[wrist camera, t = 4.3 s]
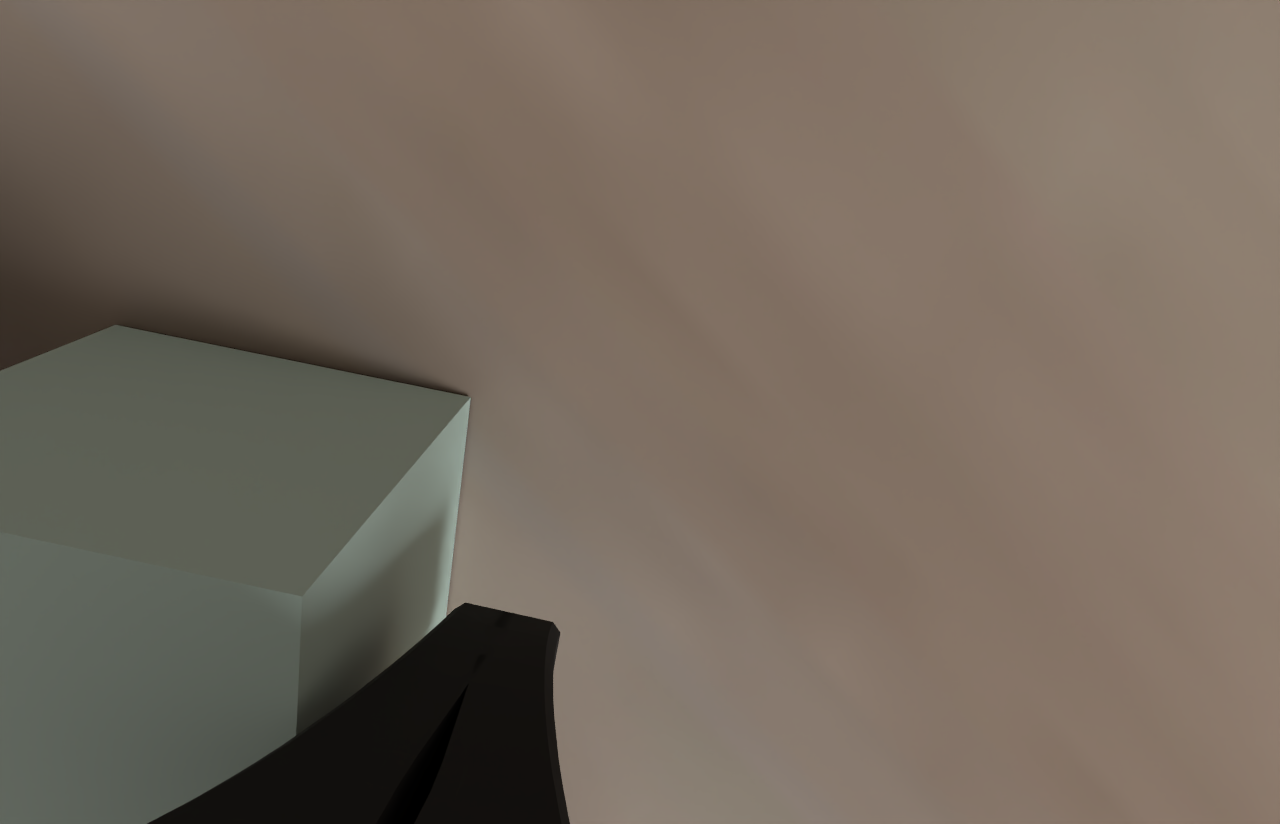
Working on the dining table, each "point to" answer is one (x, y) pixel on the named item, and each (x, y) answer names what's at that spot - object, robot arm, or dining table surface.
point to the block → (202, 561)
